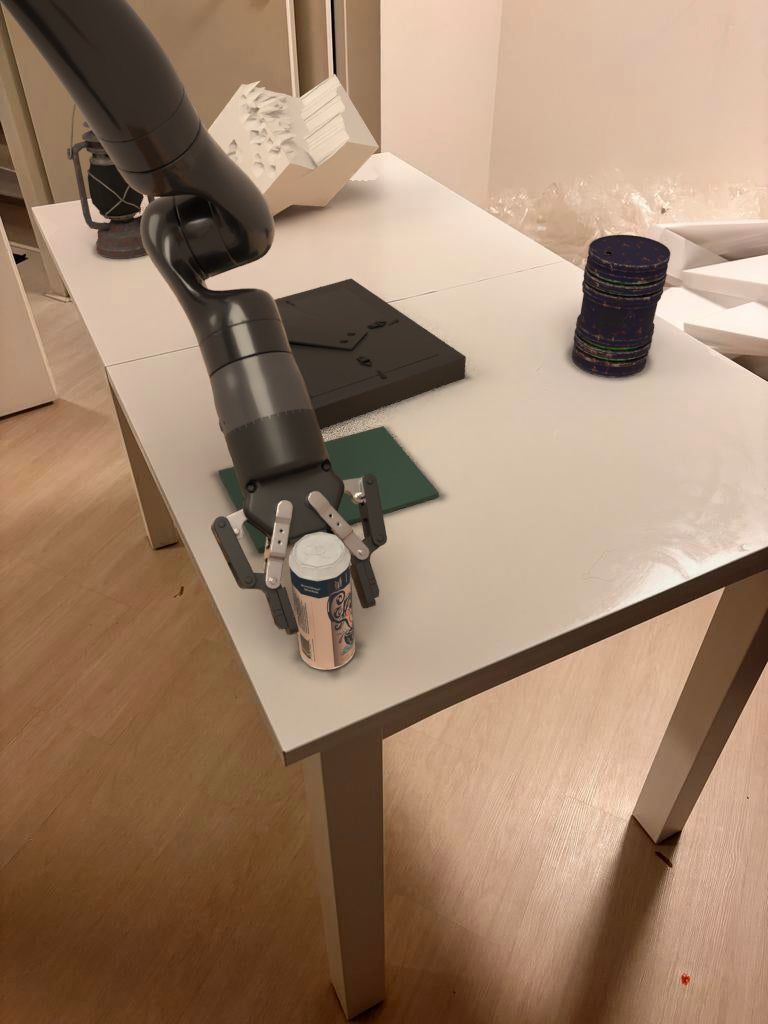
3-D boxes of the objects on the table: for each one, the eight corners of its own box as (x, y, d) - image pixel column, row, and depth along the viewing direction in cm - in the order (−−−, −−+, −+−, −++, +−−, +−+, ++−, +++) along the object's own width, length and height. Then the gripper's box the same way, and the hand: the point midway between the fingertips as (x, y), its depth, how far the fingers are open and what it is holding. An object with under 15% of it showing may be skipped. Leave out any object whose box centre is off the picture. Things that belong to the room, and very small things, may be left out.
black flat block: (209, 338, 113) (305, 434, 94) (205, 310, 110) (303, 404, 91) (352, 297, 122) (464, 377, 104) (351, 271, 119) (466, 348, 101)
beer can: (354, 673, 67) (348, 570, 59) (297, 673, 67) (284, 570, 60) (356, 630, 71) (351, 528, 63) (302, 630, 71) (290, 528, 63)
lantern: (153, 229, 144) (116, 38, 125) (173, 249, 137) (136, 50, 118) (84, 243, 140) (34, 47, 120) (100, 265, 133) (50, 60, 113)
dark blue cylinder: (621, 336, 112) (643, 230, 102) (661, 370, 104) (688, 259, 95) (557, 348, 109) (573, 240, 100) (594, 383, 102) (614, 271, 92)
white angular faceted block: (221, 237, 142) (306, 135, 126) (178, 162, 143) (257, 52, 127) (296, 238, 158) (379, 147, 142) (256, 171, 159) (334, 74, 143)
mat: (258, 553, 79) (257, 548, 78) (218, 474, 88) (218, 470, 88) (439, 497, 85) (439, 492, 85) (383, 430, 95) (383, 425, 94)
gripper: (183, 432, 59) (252, 652, 58) (362, 387, 63) (428, 590, 63) (178, 453, 66) (239, 648, 65) (340, 411, 71) (398, 593, 70)
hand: (331, 619), depth 64 cm, fingers open, 6 cm apart
